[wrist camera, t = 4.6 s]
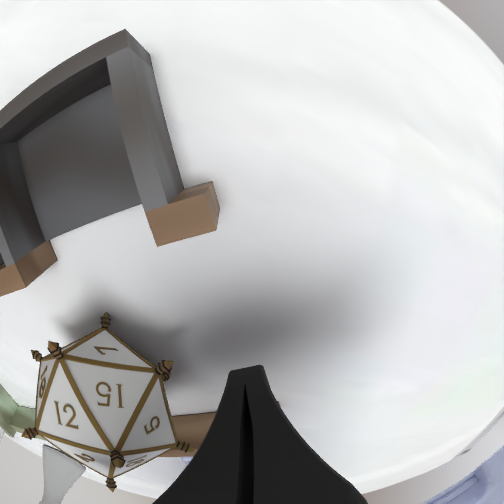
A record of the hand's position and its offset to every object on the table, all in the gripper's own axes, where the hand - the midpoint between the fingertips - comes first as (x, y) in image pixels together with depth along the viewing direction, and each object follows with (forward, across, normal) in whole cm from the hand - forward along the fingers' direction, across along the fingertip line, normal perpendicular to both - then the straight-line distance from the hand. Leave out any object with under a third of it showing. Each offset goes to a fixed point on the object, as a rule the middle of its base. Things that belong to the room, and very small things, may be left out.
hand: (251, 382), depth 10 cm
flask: (+4, +31, +19) cm, 37 cm away
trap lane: (+3, +14, -3) cm, 15 cm away
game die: (+4, +8, 0) cm, 8 cm away
